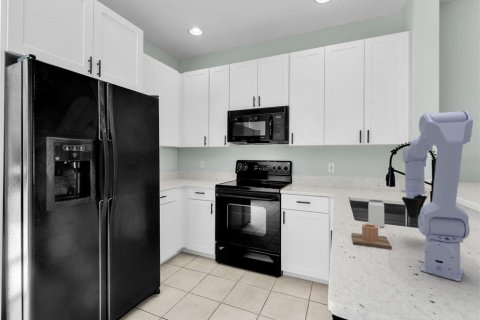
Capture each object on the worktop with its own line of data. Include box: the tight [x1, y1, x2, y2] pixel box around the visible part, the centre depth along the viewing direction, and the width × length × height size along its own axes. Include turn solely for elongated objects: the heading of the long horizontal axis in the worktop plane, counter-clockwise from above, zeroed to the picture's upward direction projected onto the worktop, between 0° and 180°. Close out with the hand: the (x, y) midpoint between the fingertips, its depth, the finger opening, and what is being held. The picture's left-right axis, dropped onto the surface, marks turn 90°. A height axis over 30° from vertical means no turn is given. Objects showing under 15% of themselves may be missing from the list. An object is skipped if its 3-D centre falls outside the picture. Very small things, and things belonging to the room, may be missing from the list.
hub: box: [361, 223, 379, 242], centre depth 87 cm, size 5×5×5 cm
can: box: [367, 199, 385, 228], centre depth 109 cm, size 6×6×12 cm
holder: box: [351, 232, 393, 250], centre depth 87 cm, size 12×12×5 cm
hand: (414, 215), depth 85 cm, fingers open, 7 cm apart
